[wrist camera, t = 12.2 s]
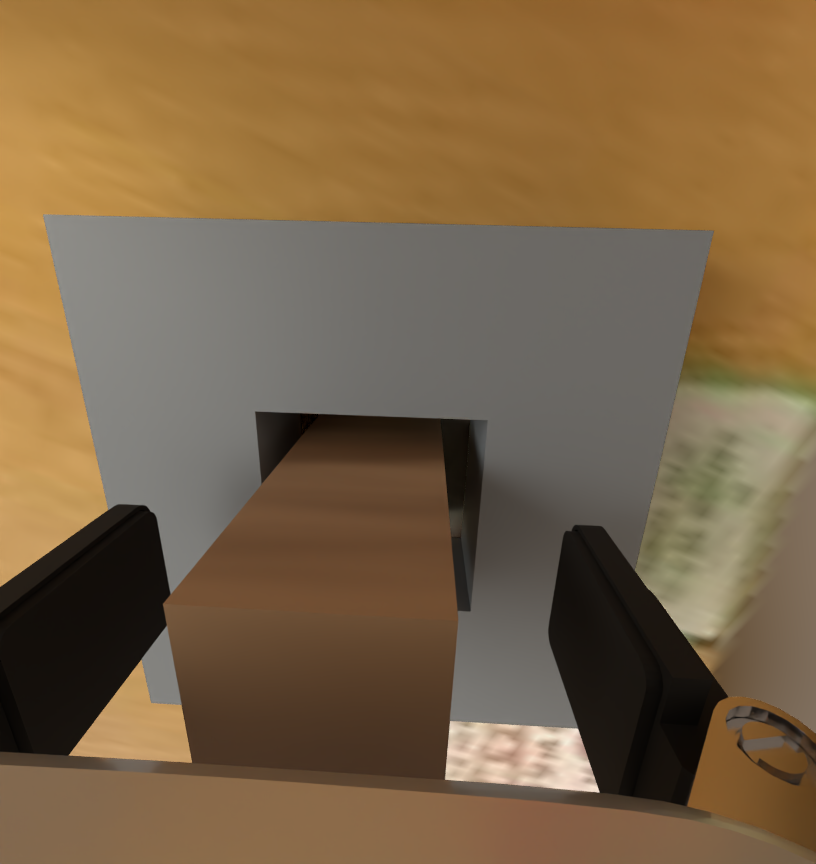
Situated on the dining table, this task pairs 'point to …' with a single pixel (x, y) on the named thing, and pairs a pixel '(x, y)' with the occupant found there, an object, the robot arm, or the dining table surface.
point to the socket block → (389, 390)
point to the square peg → (327, 610)
